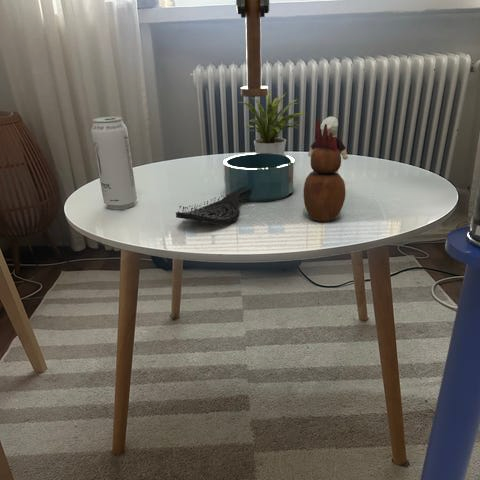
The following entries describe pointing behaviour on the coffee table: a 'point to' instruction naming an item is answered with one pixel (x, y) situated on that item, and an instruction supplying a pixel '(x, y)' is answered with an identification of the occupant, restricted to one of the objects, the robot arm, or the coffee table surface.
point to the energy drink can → (114, 162)
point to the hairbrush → (217, 209)
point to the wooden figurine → (324, 179)
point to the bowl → (260, 176)
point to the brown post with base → (253, 51)
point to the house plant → (270, 126)
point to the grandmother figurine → (332, 127)
